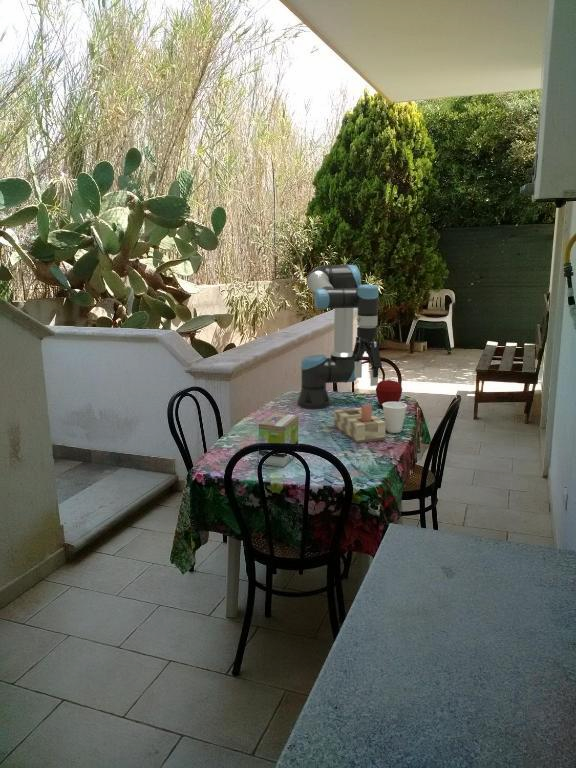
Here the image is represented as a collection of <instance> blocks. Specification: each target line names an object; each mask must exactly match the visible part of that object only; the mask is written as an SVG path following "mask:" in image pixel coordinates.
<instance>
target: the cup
mask: <svg viewBox="0 0 576 768" xmlns="http://www.w3.org/2000/svg"><path fill="white" fill-rule="evenodd" d="M381 406H382V410H383V416H384V422H386V428H385V431H387V433H390V434H399V433H401V432H402V430H403V425H404V420H405V416H406V410H407V408H408V405H407V403H405V402H401V401H399V402H385V403H383V404H382V405H381Z"/></svg>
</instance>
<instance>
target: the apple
mask: <svg viewBox="0 0 576 768" xmlns="http://www.w3.org/2000/svg"><path fill="white" fill-rule="evenodd" d="M375 387H376V388H375V393H376V398H377V400H378V404H380V406H382V404H383V403H385V402H400V400H401V397H402V394H403V387H402V384H401V383H400V382H398V381H396V380H391V379H386V380H385V379H384V380H380V381H378V385H377V386H375Z"/></svg>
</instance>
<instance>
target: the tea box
mask: <svg viewBox="0 0 576 768" xmlns="http://www.w3.org/2000/svg"><path fill="white" fill-rule="evenodd" d="M259 443H293V444H298V445H299V415H298V414H297V415H296V414H287V413H278V412H273V413H272V414H270V415H269V416H268V417H266V418H265V419H263V421H261V422H259V423H258V444H259ZM267 453H269V451H259V450H258V461H259V460H260V459H261V458H262V457H263V456H264V455H265V454H267ZM293 459H294V457H293V456H290V455H287V454H275V455H272V456H270V457H269V458H268V459H267V460H266V461H265V463H264V464H263V465H264V466H266V465H267V466H275V467H282V468H283V467H285V466H287V465H288V463H290V461H291V460H293Z"/></svg>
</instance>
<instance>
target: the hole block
mask: <svg viewBox="0 0 576 768" xmlns="http://www.w3.org/2000/svg"><path fill="white" fill-rule="evenodd" d="M361 409H362V407H357V408H356V407H355V408H347V409H337V410H333V428H335V429H336V430H337V431H338V432H340V431H341V433H342V434H343V435H345V436H347V437H348V438H349V439H350V440H351V441H353V442H355V443H356V444H360V443H369V442H376V441H383V440H386V422H385V420H382V419H381V418H379V417H377V416H375V415H374V414H372V418H371V422H364V423H361Z"/></svg>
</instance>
